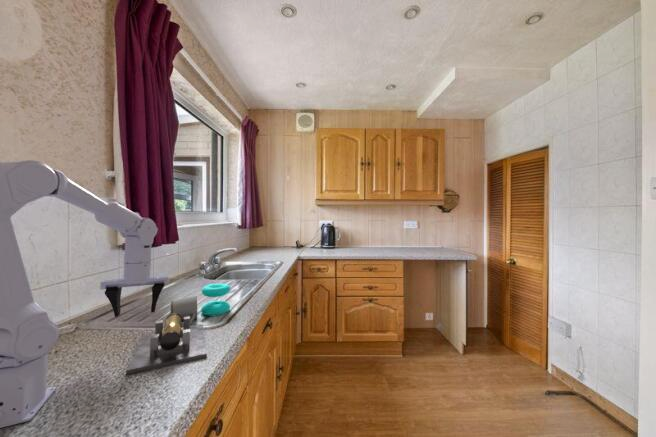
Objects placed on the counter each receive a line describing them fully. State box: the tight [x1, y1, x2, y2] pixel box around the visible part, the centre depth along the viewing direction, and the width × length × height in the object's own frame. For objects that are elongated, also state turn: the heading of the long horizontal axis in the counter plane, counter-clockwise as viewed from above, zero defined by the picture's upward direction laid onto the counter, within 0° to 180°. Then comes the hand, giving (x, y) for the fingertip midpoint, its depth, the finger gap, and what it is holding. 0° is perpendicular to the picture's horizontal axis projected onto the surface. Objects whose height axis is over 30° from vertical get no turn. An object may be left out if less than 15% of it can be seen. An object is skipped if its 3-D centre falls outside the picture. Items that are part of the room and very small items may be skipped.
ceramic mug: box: [170, 295, 198, 325], centre depth 86 cm, size 11×8×8 cm
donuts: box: [200, 282, 231, 317], centre depth 96 cm, size 10×10×10 cm
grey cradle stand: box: [125, 316, 208, 376], centre depth 68 cm, size 21×16×6 cm
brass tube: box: [160, 313, 183, 350], centre depth 68 cm, size 16×4×4 cm, turn 29°
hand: (135, 313), depth 67 cm, fingers open, 7 cm apart
